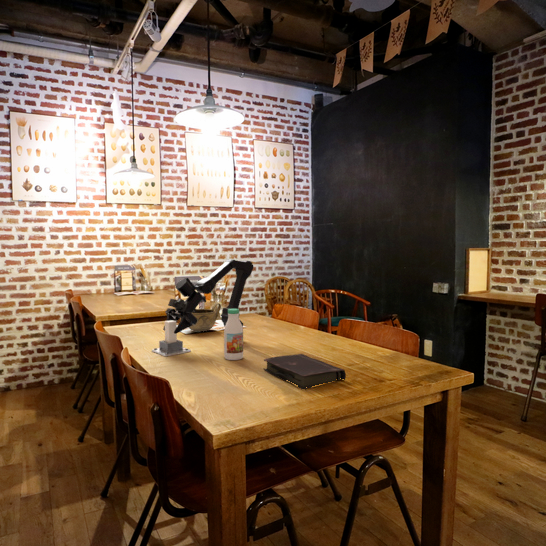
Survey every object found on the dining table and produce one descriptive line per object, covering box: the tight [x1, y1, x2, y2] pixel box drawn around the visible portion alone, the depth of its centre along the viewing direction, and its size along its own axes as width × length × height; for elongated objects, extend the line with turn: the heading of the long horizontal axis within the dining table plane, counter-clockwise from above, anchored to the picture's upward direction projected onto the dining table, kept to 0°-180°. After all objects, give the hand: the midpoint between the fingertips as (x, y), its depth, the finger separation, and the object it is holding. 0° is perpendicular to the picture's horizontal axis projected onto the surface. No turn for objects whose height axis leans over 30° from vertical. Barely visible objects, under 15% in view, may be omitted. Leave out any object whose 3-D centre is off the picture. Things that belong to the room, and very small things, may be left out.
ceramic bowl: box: [187, 302, 222, 333], centre depth 228 cm, size 22×17×15 cm
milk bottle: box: [223, 308, 244, 361], centre depth 173 cm, size 8×8×20 cm
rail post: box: [164, 320, 178, 343], centre depth 184 cm, size 4×4×12 cm
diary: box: [263, 353, 347, 390], centre depth 151 cm, size 19×25×5 cm
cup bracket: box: [151, 339, 191, 357], centre depth 184 cm, size 12×12×4 cm
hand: (169, 331), depth 183 cm, fingers open, 9 cm apart
